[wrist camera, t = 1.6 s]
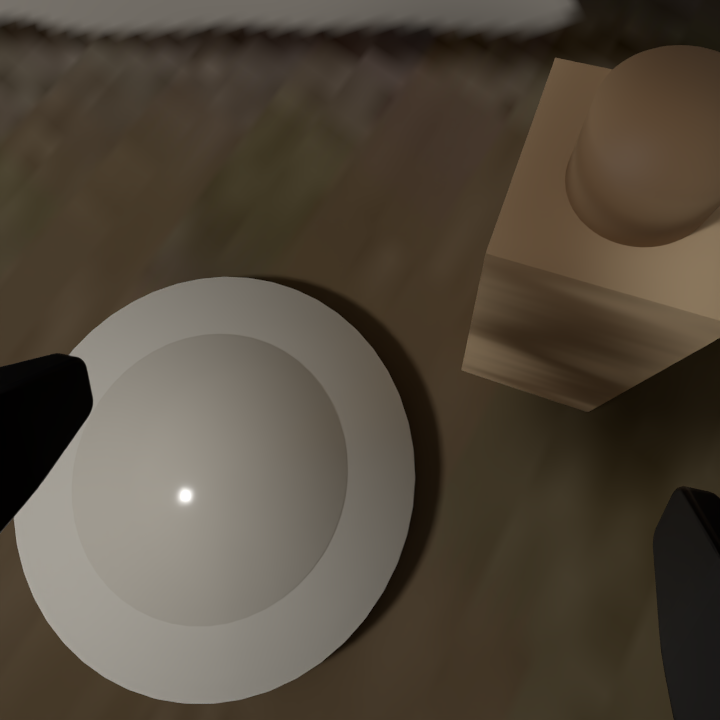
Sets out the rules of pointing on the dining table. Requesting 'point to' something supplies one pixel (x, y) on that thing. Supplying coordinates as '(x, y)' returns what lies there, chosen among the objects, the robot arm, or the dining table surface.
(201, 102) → the dining table surface
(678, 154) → the pepper mill
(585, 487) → the dining table surface
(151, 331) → the cream plate
